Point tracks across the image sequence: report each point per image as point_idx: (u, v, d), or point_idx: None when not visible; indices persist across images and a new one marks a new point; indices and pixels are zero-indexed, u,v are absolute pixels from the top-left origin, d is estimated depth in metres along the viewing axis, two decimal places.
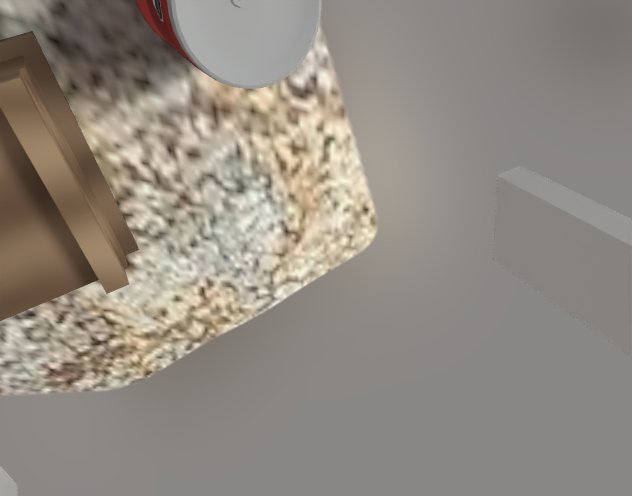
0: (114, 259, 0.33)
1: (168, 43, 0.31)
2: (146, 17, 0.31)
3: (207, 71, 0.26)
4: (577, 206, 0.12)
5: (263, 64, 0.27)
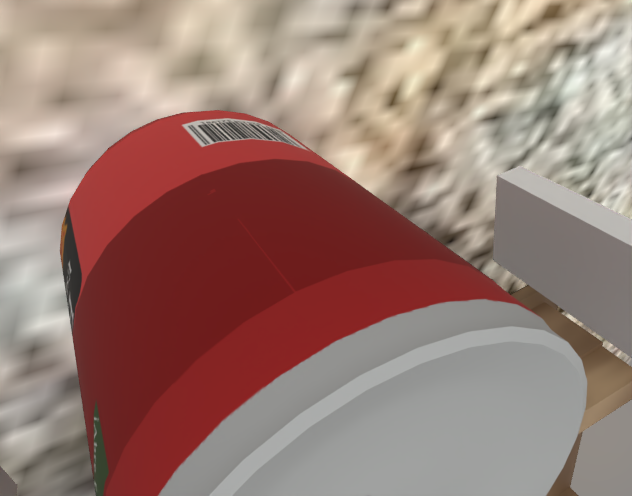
0: (605, 399, 0.22)
1: None
2: None
3: None
4: (577, 206, 0.12)
5: (527, 434, 0.09)
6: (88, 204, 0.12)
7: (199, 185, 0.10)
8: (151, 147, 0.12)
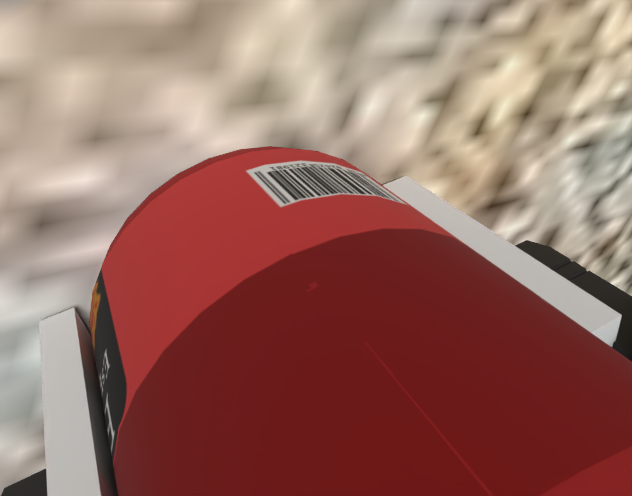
0: None
1: None
2: None
3: None
4: (444, 216, 0.12)
5: None
6: (130, 277, 0.09)
7: (291, 272, 0.07)
8: (211, 202, 0.10)
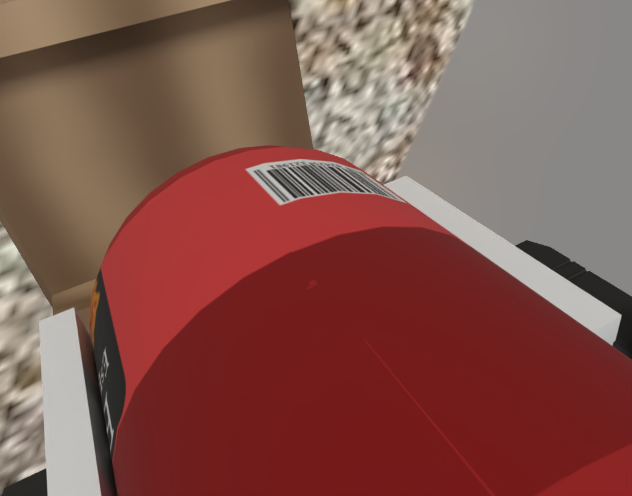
0: None
1: None
2: None
3: None
4: (444, 216, 0.12)
5: None
6: (130, 276, 0.09)
7: (290, 270, 0.07)
8: (211, 200, 0.09)
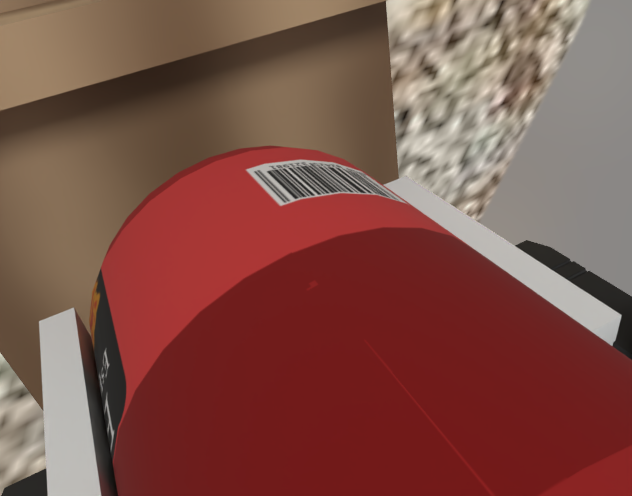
0: None
1: None
2: None
3: None
4: (444, 216, 0.12)
5: None
6: (130, 276, 0.09)
7: (290, 271, 0.07)
8: (211, 202, 0.09)
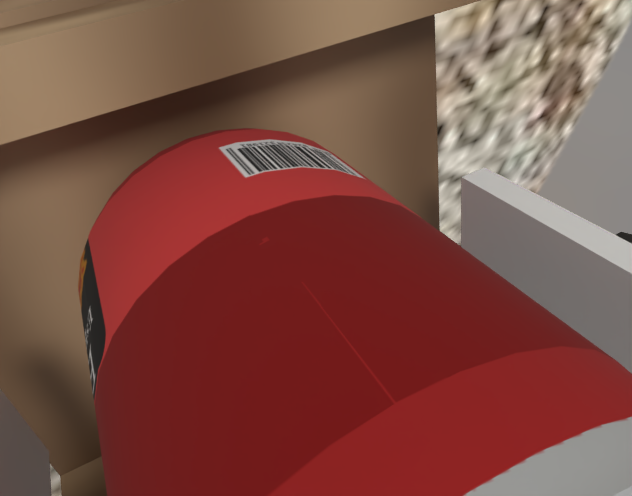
0: None
1: None
2: None
3: None
4: (535, 207, 0.12)
5: None
6: (112, 241, 0.10)
7: (248, 230, 0.08)
8: (185, 175, 0.11)
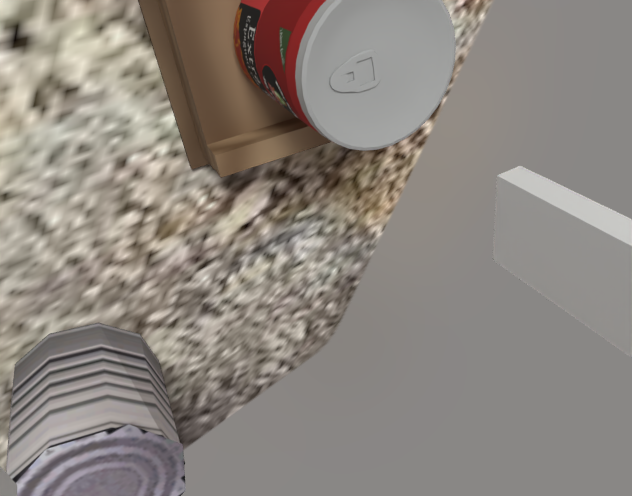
0: None
1: None
2: None
3: (427, 118, 0.26)
4: (577, 206, 0.12)
5: (433, 53, 0.24)
6: None
7: None
8: None
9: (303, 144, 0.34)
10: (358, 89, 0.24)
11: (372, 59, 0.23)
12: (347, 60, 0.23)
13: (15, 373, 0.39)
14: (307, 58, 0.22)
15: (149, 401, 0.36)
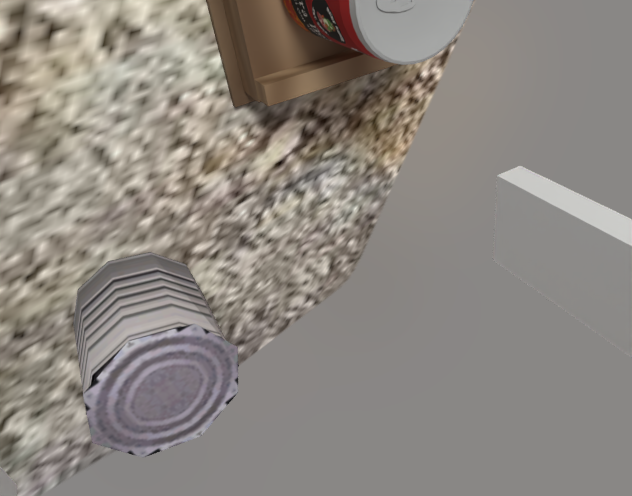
0: None
1: None
2: None
3: (453, 37, 0.31)
4: (577, 206, 0.12)
5: None
6: None
7: None
8: None
9: (337, 77, 0.39)
10: (398, 9, 0.29)
11: None
12: None
13: (80, 296, 0.43)
14: None
15: (205, 312, 0.41)
